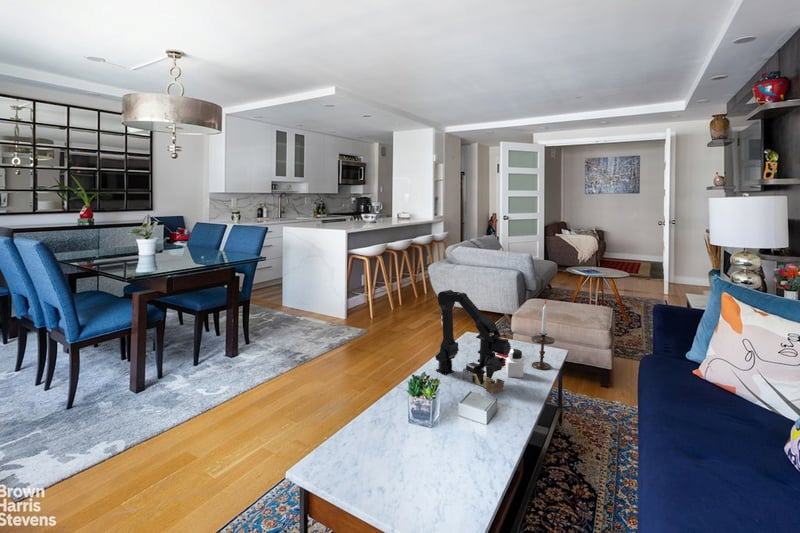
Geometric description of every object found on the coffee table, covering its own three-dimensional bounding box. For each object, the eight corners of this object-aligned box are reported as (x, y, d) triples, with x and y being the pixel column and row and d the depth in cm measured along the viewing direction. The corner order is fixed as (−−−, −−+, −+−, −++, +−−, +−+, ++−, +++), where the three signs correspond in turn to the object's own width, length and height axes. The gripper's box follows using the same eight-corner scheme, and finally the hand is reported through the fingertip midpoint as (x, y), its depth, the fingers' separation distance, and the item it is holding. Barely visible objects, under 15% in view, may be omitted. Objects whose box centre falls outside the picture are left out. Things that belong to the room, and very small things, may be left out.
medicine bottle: (520, 371, 211) (521, 348, 209) (523, 377, 204) (524, 353, 202) (505, 371, 212) (506, 347, 210) (507, 377, 205) (508, 352, 203)
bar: (467, 379, 201) (468, 372, 201) (474, 377, 203) (474, 370, 203) (488, 389, 190) (488, 382, 190) (494, 387, 193) (494, 380, 192)
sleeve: (462, 378, 202) (463, 368, 202) (473, 375, 206) (473, 365, 205) (471, 383, 197) (471, 373, 197) (482, 380, 201) (482, 370, 200)
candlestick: (555, 371, 213) (560, 300, 207) (533, 370, 213) (537, 300, 208) (548, 362, 223) (553, 295, 218) (527, 362, 224) (531, 295, 218)
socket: (486, 391, 189) (486, 381, 189) (497, 387, 193) (498, 378, 192) (491, 394, 186) (492, 384, 186) (503, 390, 190) (504, 381, 190)
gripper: (483, 359, 181) (482, 394, 183) (515, 351, 191) (513, 385, 193) (465, 351, 190) (464, 385, 192) (496, 343, 200) (495, 376, 202)
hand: (485, 383), depth 195 cm, fingers closed on bar, 4 cm apart
